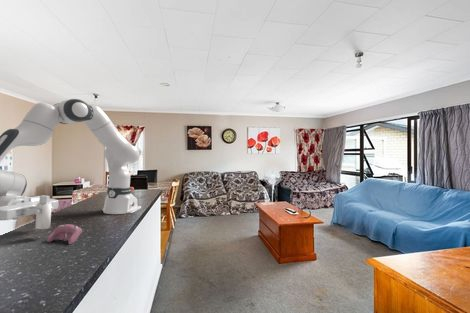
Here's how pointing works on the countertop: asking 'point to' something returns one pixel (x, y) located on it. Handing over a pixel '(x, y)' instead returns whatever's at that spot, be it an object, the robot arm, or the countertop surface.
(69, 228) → the video game controller
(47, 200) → the white bottle
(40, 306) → the countertop surface
